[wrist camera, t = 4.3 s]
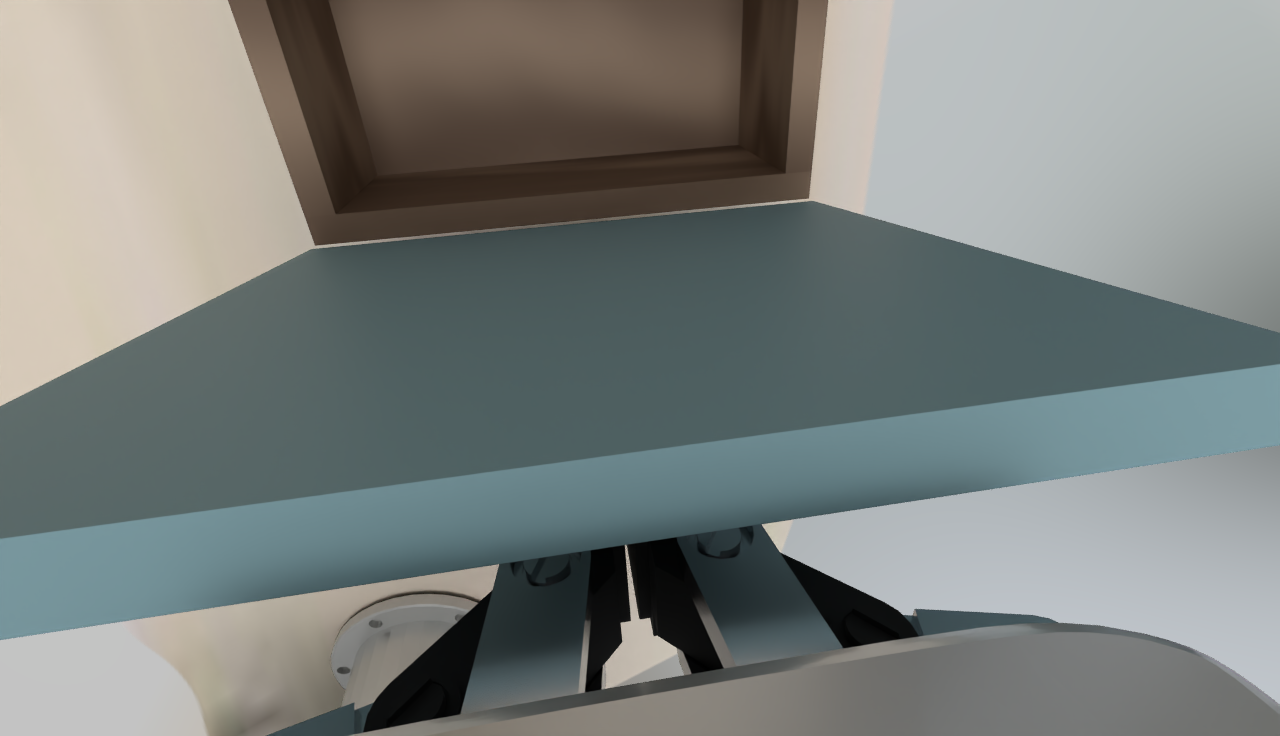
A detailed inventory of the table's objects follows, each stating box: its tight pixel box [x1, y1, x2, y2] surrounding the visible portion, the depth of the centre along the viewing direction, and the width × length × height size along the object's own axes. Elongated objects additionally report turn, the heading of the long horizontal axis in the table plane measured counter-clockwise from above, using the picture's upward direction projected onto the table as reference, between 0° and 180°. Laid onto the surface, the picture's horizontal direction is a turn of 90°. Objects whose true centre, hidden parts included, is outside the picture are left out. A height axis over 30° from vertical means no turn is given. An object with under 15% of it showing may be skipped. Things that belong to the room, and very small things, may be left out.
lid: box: [0, 201, 1280, 640], centre depth 14 cm, size 16×18×1 cm
